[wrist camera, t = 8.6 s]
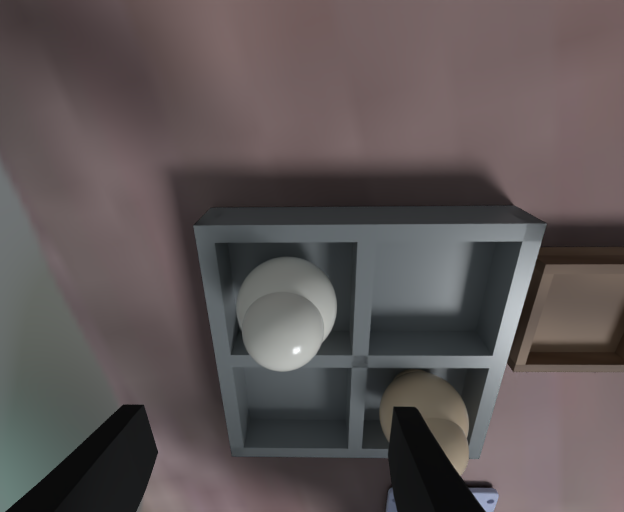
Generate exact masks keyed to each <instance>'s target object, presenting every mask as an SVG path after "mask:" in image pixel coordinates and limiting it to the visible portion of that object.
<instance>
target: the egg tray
mask: <svg viewBox="0 0 624 512" xmlns="http://www.w3.org/2000/svg"><path fill="white" fill-rule="evenodd" d="M546 225H547V223H545V222H543V221H541V220H540V219H538V218H536V217H534V216H533V215H531V214H529V213H527V212H525V211H524V210H522V209H520V208H518V207H516V206H377V207H238V208H210V209H209V210H208V211H207V212H206V213H205V214H204V215H203V216H202V217H201V218H200V219H199V220H198V221H197V222H196V223H195V224H194V225H193V227H194V233H195V239H196V245H197V251H198V257H199V262H200V268H201V274H202V280H203V286H204V292H205V298H206V304H207V310H208V316H209V322H210V328H211V334H212V340H213V346H214V352H215V358H216V364H217V370H218V376H219V382H220V388H221V394H222V400H223V406H224V412H225V418H226V424H227V430H228V436H229V442H230V448H231V454H232V456H235V457H333V458H388V449H389V442H388V440H387V439H386V437H385V435H384V433H383V430H382V427H381V423H380V417H379V408H380V402H381V398H382V395H383V393H384V391H385V389H386V388H387V387H388V385H389V384H390V383H391V382H392V381H393V379H394V378H395V377H396V375H398V374H399V373H400V372H402V371H404V370H408V369H421V370H424V371H426V372H428V373H432V374H434V375H437V376H439V377H441V378H443V379H444V380H446V381H447V382H448V383H450V384H451V385H452V386H453V387H454V388H455V389H456V391H457V392H458V393H459V395H460V396H461V398H462V400H463V402H464V404H465V406H466V409H467V413H468V418H469V430H468V436H467V441H468V446H469V459H479V458H480V454H481V451H482V447H483V444H484V440H485V437H486V433H487V430H488V426H489V423H490V419H491V416H492V412H493V409H494V406H495V402H496V399H497V395H498V392H499V388H500V385H501V381H502V378H503V374H504V371H505V367H506V364H507V360H508V357H509V353H510V350H511V346H512V343H513V339H514V336H515V333H516V329H517V326H518V322H519V319H520V315H521V312H522V308H523V305H524V301H525V298H526V294H527V291H528V287H529V284H530V280H531V277H532V273H533V270H534V266H535V263H536V259H537V256H538V253H539V249H540V246H541V242H542V239H543V235H544V232H545V228H546ZM285 256H288V257H297V258H301V259H304V260H307V261H309V262H311V263H313V264H314V265H316V266H317V267H318V268H320V269H321V270H322V271H323V272H324V273H325V275H326V276H327V277H328V279H329V280H330V282H331V284H332V286H333V288H334V291H335V295H336V300H337V313H336V319H335V322H334V325H333V328H332V330H331V332H330V333H329V335H328V337H327V338H326V339H325V340H324V341H323V342H322V344H321V346H320V348H319V350H318V352H317V353H316V355H315V356H314V357H313V358H312V359H311V360H310V361H309V362H308V363H307V364H305V365H304V366H302V367H300V368H298V369H295V370H292V371H286V372H279V371H273V370H269V369H267V368H265V367H263V366H261V365H260V364H258V363H257V362H256V361H255V360H254V359H253V358H252V357H251V356H250V355H249V353H248V351H247V350H246V348H245V345H244V342H243V337H242V330H241V328H240V326H239V323H238V319H237V314H236V302H237V296H238V293H239V289H240V287H241V285H242V283H243V281H244V280H245V278H246V277H247V276H248V274H249V273H250V272H251V271H252V270H253V269H254V268H256V267H257V266H258V265H260V264H261V263H263V262H265V261H267V260H270V259H273V258H277V257H285Z"/></svg>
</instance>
